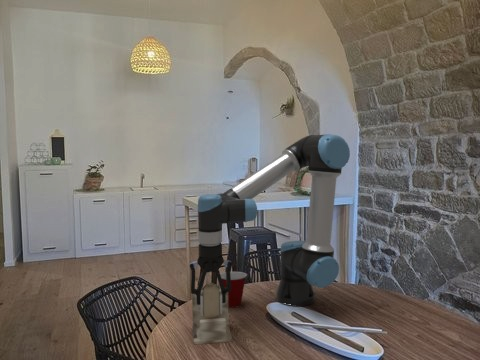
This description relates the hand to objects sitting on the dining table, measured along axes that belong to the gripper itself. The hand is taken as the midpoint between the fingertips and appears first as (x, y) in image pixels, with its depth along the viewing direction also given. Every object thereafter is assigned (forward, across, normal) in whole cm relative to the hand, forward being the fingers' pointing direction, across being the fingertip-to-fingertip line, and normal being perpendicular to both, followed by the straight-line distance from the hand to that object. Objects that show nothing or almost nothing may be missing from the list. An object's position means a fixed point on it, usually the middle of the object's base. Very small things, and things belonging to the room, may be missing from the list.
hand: (211, 312), depth 134 cm
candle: (+1, 0, 0) cm, 1 cm away
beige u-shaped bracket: (+7, 0, 0) cm, 7 cm away
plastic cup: (+7, -10, -23) cm, 26 cm away
